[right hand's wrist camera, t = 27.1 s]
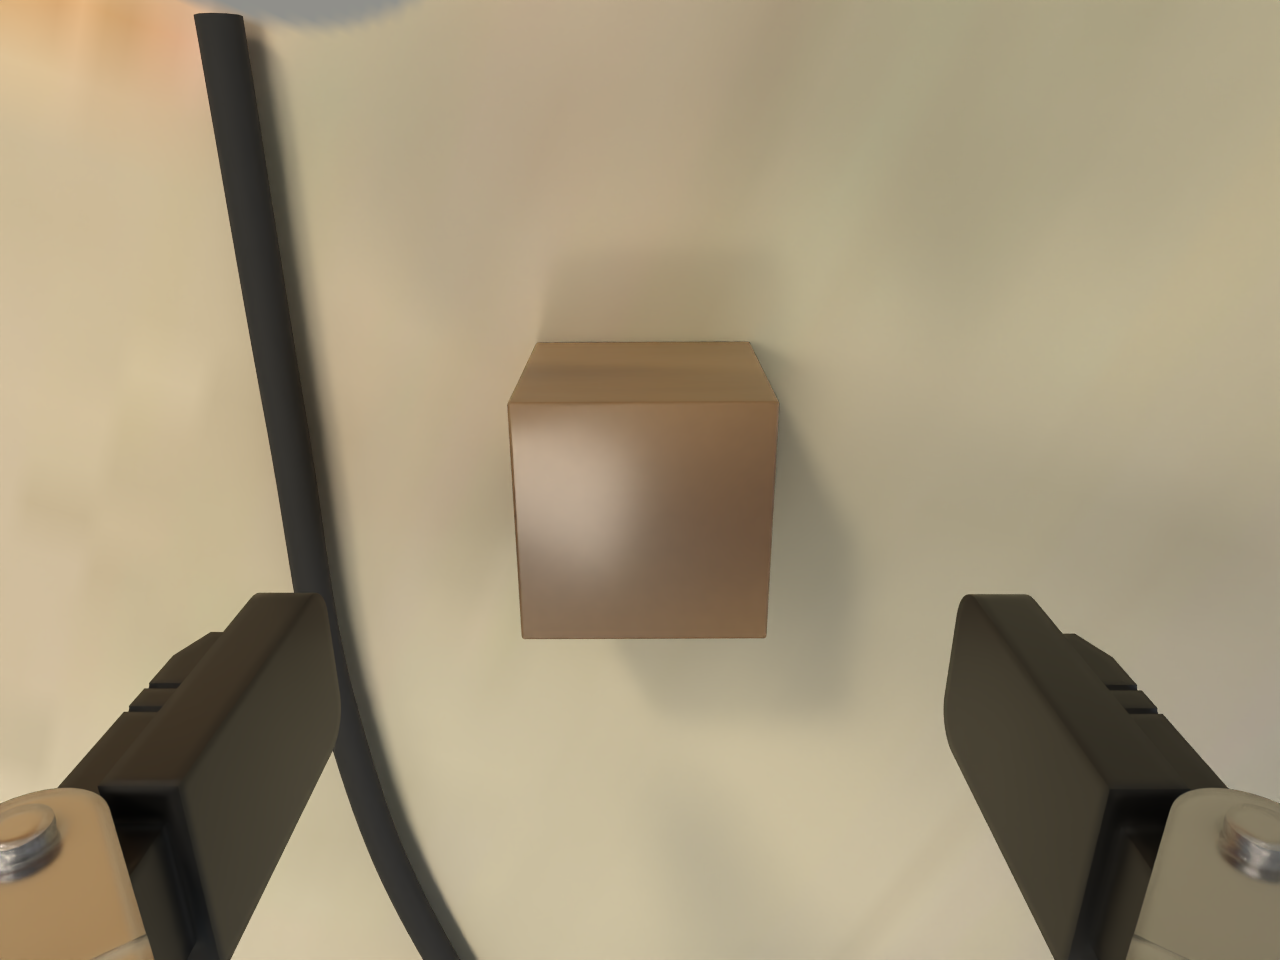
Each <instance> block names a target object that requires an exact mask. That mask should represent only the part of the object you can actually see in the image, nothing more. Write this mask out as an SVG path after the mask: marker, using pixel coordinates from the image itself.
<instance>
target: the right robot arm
mask: <svg viewBox="0 0 1280 960" xmlns="http://www.w3.org/2000/svg"><path fill="white" fill-rule="evenodd" d="M194 19H195V25H196V30H197V36H198V42H199V47H200V53H201V59H202V65H203V70H204V76H205V82H206V87H207V93H208V99H209V105H210V110H211V116H212V122H213V128H214V134H215V139H216V145H217V151H218V157H219V162H220V168H221V174H222V180H223V186H224V191H225V197H226V203H227V209H228V214H229V220H230V226H231V232H232V238H233V243H234V249H235V255H236V261H237V266H238V272H239V278H240V283H241V289H242V295H243V300H244V306H245V312H246V317H247V323H248V329H249V334H250V340H251V345H252V351H253V356H254V362H255V367H256V373H257V378H258V384H259V389H260V395H261V400H262V405H263V411H264V416H265V422H266V427H267V433H268V438H269V444H270V449H271V455H272V460H273V466H274V472H275V478H276V484H277V490H278V496H279V502H280V508H281V515H282V521H283V527H284V533H285V540H286V546H287V552H288V558H289V565H290V571H291V577H292V583H293V588H294V593H257V594H255V595H254V596H253V597H252V598H251V599H250V600H249V601H248V602H247V604H246V605H245V606H244V607H243V609H242V610H241V611H240V612H239V613H238V615H237V616H236V617H235V618H234V620H233V621H232V622H231V623H230V624H229V626H228V627H227V628H226V629H225V631H224V632H210V633H209V634H207V635H205V636H204V637H202V638H201V639H199V640H197V641H196V642H194V643H193V644H191V645H189V646H188V647H186V648H185V649H183V650H181V651H180V652H178V653H177V654H175V655H173V656H172V658H171V659H170V660H169V661H168V662H167V663H166V664H165V666H164V667H163V668H162V669H161V670H160V671H159V672H158V674H157V675H156V676H155V677H154V678H153V679H152V680H151V682H150V683H149V689H144V690H143V691H142V692H141V693H140V694H139V695H138V696H137V698H136V699H135V700H134V701H133V702H132V703H131V704H130V706H129V712H123V714H122V715H121V716H120V717H119V718H118V719H117V720H116V722H115V723H114V724H113V725H112V726H111V727H110V728H109V730H108V731H107V732H106V733H105V734H104V735H103V736H102V738H101V739H100V740H99V741H98V742H97V743H96V744H95V746H94V747H93V748H92V749H91V750H90V751H89V752H88V754H87V755H86V756H85V757H84V758H83V759H82V760H81V762H80V763H79V764H78V765H77V766H76V767H75V768H74V770H73V771H72V772H71V773H70V774H69V775H68V776H67V778H66V779H65V780H64V781H63V782H62V783H61V784H60V786H59V787H58V788H55V789H48V790H42V791H37V792H33V793H29V794H25V795H22V796H19V797H16V798H13V799H10V800H8V801H5V802H3V803H0V960H230V959H231V957H232V955H233V953H234V951H235V949H236V947H237V945H238V943H239V941H240V939H241V937H242V935H243V933H244V931H245V929H246V927H247V925H248V923H249V920H250V918H251V916H252V914H253V912H254V910H255V908H256V906H257V904H258V902H259V900H260V898H261V896H262V894H263V892H264V890H265V888H266V886H267V884H268V882H269V880H270V878H271V876H272V873H273V871H274V869H275V867H276V865H277V863H278V861H279V859H280V857H281V855H282V853H283V851H284V849H285V847H286V845H287V843H288V841H289V839H290V837H291V835H292V833H293V831H294V829H295V826H296V824H297V822H298V820H299V818H300V816H301V814H302V812H303V810H304V808H305V806H306V804H307V802H308V800H309V798H310V796H311V794H312V792H313V790H314V788H315V786H316V784H317V782H318V779H319V777H320V775H321V773H322V771H323V769H324V767H325V765H326V763H327V761H328V759H329V757H330V755H331V753H332V751H333V752H334V755H335V759H336V762H337V765H338V768H339V771H340V774H341V777H342V780H343V784H344V787H345V790H346V793H347V795H348V798H349V801H350V804H351V807H352V810H353V813H354V815H355V818H356V821H357V824H358V826H359V829H360V832H361V834H362V837H363V839H364V842H365V844H366V847H367V849H368V852H369V854H370V856H371V859H372V861H373V863H374V866H375V868H376V870H377V872H378V874H379V877H380V879H381V881H382V883H383V885H384V887H385V889H386V891H387V894H388V896H389V898H390V900H391V902H392V904H393V906H394V908H395V909H396V911H397V913H398V915H399V917H400V919H401V921H402V923H403V925H404V927H405V928H406V930H407V932H408V934H409V936H410V937H411V939H412V941H413V943H414V945H415V946H416V948H417V950H418V952H419V953H420V955H421V957H422V959H423V960H460V959H459V957H458V955H457V954H456V952H455V950H454V949H453V947H452V945H451V943H450V942H449V940H448V938H447V936H446V934H445V933H444V931H443V929H442V927H441V925H440V923H439V921H438V920H437V918H436V916H435V914H434V912H433V910H432V908H431V906H430V904H429V902H428V900H427V898H426V896H425V894H424V892H423V890H422V888H421V886H420V884H419V882H418V880H417V878H416V876H415V873H414V871H413V869H412V867H411V865H410V862H409V860H408V858H407V855H406V853H405V851H404V848H403V846H402V843H401V841H400V838H399V836H398V833H397V831H396V828H395V826H394V823H393V820H392V818H391V815H390V812H389V809H388V806H387V803H386V800H385V798H384V795H383V791H382V788H381V785H380V782H379V779H378V776H377V773H376V770H375V766H374V763H373V760H372V757H371V753H370V750H369V746H368V743H367V740H366V736H365V733H364V729H363V726H362V722H361V719H360V715H359V712H358V708H357V704H356V701H355V697H354V693H353V689H352V685H351V681H350V677H349V673H348V669H347V665H346V660H345V656H344V651H343V646H342V642H341V636H340V631H339V626H338V621H337V615H336V610H335V604H334V598H333V592H332V586H331V579H330V573H329V566H328V559H327V552H326V545H325V538H324V531H323V524H322V517H321V510H320V503H319V496H318V489H317V482H316V475H315V469H314V462H313V456H312V449H311V443H310V437H309V431H308V425H307V419H306V413H305V407H304V401H303V395H302V389H301V383H300V377H299V371H298V364H297V358H296V352H295V346H294V340H293V334H292V328H291V321H290V315H289V309H288V303H287V296H286V290H285V284H284V277H283V271H282V265H281V258H280V252H279V245H278V239H277V233H276V226H275V220H274V213H273V207H272V200H271V194H270V187H269V181H268V174H267V168H266V161H265V155H264V149H263V142H262V136H261V129H260V123H259V116H258V110H257V103H256V97H255V91H254V84H253V78H252V71H251V65H250V59H249V52H248V46H247V40H246V33H245V27H244V21H243V16H241V15H236V14H227V13H199V14H195V15H194ZM944 723H945V730H946V736H947V740H948V743H949V746H950V749H951V751H952V753H953V755H954V757H955V759H956V761H957V763H958V765H959V767H960V769H961V772H962V774H963V776H964V778H965V780H966V782H967V784H968V786H969V788H970V790H971V792H972V794H973V796H974V798H975V800H976V802H977V804H978V806H979V808H980V810H981V812H982V814H983V816H984V818H985V820H986V822H987V824H988V826H989V828H990V830H991V832H992V834H993V836H994V838H995V840H996V842H997V844H998V846H999V848H1000V850H1001V852H1002V854H1003V856H1004V858H1005V860H1006V862H1007V864H1008V866H1009V868H1010V870H1011V872H1012V874H1013V876H1014V879H1015V881H1016V883H1017V885H1018V887H1019V889H1020V891H1021V893H1022V895H1023V897H1024V899H1025V901H1026V903H1027V905H1028V907H1029V909H1030V911H1031V913H1032V915H1033V917H1034V919H1035V921H1036V923H1037V925H1038V927H1039V929H1040V931H1041V933H1042V935H1043V937H1044V939H1045V941H1046V943H1047V945H1048V947H1049V949H1050V951H1051V953H1052V955H1053V957H1054V959H1055V960H1280V803H1277V802H1275V801H1272V800H1270V799H1267V798H1264V797H1261V796H1258V795H1255V794H1251V793H1247V792H1243V791H1238V790H1232V789H1228V788H1227V786H1226V785H1225V784H1224V783H1223V782H1222V781H1221V780H1220V778H1219V777H1218V776H1217V775H1216V774H1215V773H1214V772H1213V771H1212V769H1211V768H1210V767H1209V766H1208V765H1207V764H1206V763H1205V762H1204V760H1203V759H1202V758H1201V757H1200V756H1199V755H1198V754H1197V752H1196V751H1195V750H1194V749H1193V748H1192V747H1191V746H1190V745H1189V743H1188V742H1187V741H1186V740H1185V739H1184V738H1183V737H1182V735H1181V734H1180V733H1179V732H1178V731H1177V730H1176V729H1175V728H1174V726H1173V725H1172V724H1171V723H1170V722H1169V721H1168V720H1167V718H1166V717H1165V716H1164V715H1163V714H1158V712H1157V707H1156V706H1155V705H1154V704H1153V703H1152V701H1151V700H1150V699H1149V698H1148V697H1147V696H1146V695H1145V694H1144V692H1143V691H1138V690H1137V685H1136V683H1135V682H1134V681H1133V680H1132V679H1131V678H1130V677H1129V675H1128V674H1127V673H1126V672H1125V671H1124V670H1123V669H1122V668H1121V666H1120V665H1119V664H1118V663H1117V662H1116V661H1115V660H1114V658H1113V657H1111V656H1110V655H1108V654H1106V653H1105V652H1103V651H1102V650H1100V649H1098V648H1097V647H1095V646H1094V645H1092V644H1090V643H1089V642H1087V641H1085V640H1084V639H1082V638H1081V637H1079V636H1077V635H1076V634H1062V633H1061V631H1060V630H1059V629H1058V628H1057V626H1056V625H1055V624H1054V623H1053V622H1052V620H1051V619H1050V618H1049V617H1048V616H1047V614H1046V613H1045V612H1044V611H1043V610H1042V608H1041V607H1040V606H1039V605H1038V603H1037V602H1036V601H1035V600H1034V599H1033V598H1032V597H1031V596H1029V595H1026V594H968V595H965V596H964V597H963V598H962V600H961V602H960V604H959V607H958V612H957V617H956V624H955V630H954V637H953V644H952V650H951V657H950V663H949V670H948V677H947V683H946V690H945V697H944Z"/></svg>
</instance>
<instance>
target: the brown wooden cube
mask: <svg viewBox="0 0 1280 960" xmlns="http://www.w3.org/2000/svg"><path fill="white" fill-rule="evenodd" d="M507 407H508V423H509V439H510V455H511V471H512V487H513V503H514V519H515V535H516V551H517V567H518V583H519V599H520V616H521V632H522V638H523V639H678V638H765V637H766V634H767V616H768V598H769V581H770V563H771V545H772V527H773V509H774V491H775V474H776V456H777V438H778V420H779V401H778V399H777V397H776V395H775V393H774V391H773V389H772V387H771V385H770V383H769V381H768V379H767V377H766V375H765V373H764V371H763V369H762V367H761V365H760V363H759V361H758V359H757V357H756V355H755V353H754V351H753V349H752V347H751V345H750V343H749V342H603V343H536V345H535V347H534V349H533V351H532V353H531V356H530V358H529V360H528V362H527V364H526V366H525V368H524V370H523V372H522V375H521V377H520V379H519V381H518V383H517V385H516V387H515V389H514V391H513V394H512V396H511V398H510V400H509V402H508V405H507Z"/></svg>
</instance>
